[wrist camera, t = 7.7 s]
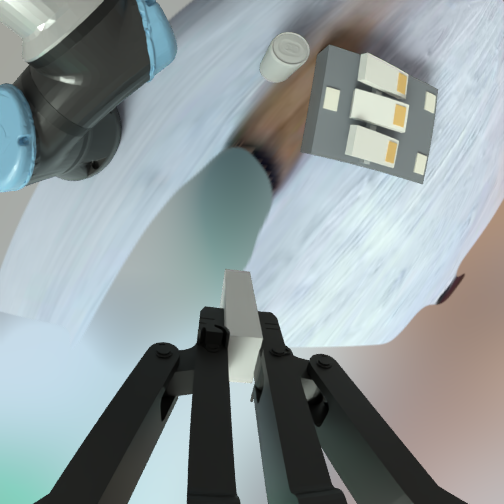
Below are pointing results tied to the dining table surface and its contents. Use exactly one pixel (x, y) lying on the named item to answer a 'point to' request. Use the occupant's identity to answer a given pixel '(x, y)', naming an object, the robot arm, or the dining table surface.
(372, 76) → the plate
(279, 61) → the beverage can
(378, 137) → the rocker
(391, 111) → the rocker
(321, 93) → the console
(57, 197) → the dining table surface
